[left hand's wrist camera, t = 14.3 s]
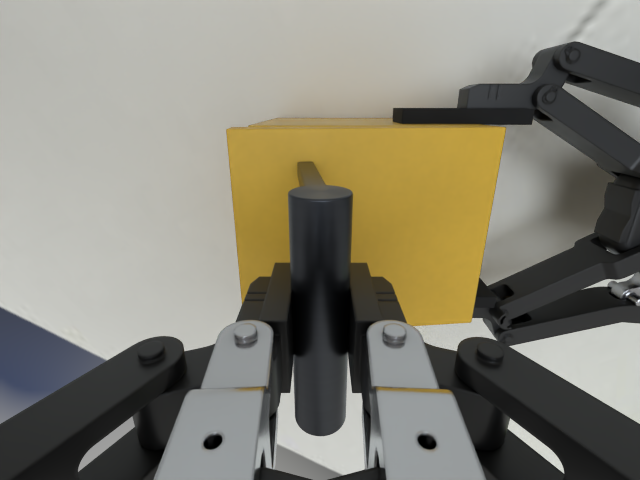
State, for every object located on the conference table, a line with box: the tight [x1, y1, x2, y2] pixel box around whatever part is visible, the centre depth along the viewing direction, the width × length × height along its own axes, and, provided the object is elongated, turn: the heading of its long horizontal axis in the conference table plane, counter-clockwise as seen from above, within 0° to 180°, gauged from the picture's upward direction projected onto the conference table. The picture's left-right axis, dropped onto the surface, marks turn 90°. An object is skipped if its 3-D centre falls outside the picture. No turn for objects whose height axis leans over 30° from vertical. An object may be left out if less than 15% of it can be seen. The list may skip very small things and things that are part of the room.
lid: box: [226, 126, 506, 436], centre depth 14 cm, size 12×10×8 cm
